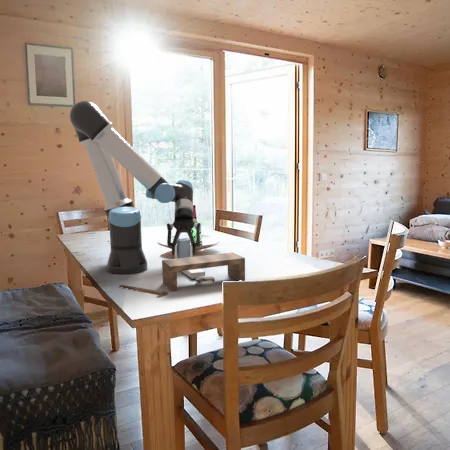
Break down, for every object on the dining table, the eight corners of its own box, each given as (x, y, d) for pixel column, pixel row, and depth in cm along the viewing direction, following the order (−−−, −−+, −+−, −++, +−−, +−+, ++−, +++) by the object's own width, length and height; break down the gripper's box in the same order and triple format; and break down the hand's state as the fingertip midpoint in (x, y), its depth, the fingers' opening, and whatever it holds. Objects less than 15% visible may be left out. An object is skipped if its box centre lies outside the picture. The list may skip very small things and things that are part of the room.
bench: (171, 291, 133) (170, 266, 132) (162, 283, 142) (161, 260, 141) (245, 281, 143) (244, 257, 142) (232, 274, 152) (232, 252, 151)
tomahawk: (106, 295, 134) (105, 291, 134) (122, 286, 140) (121, 283, 140) (153, 304, 124) (152, 300, 124) (168, 294, 130) (167, 290, 130)
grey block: (191, 278, 146) (191, 247, 144) (176, 267, 162) (175, 239, 161) (205, 277, 148) (204, 246, 146) (188, 265, 164) (188, 238, 163)
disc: (199, 287, 137) (199, 282, 137) (193, 282, 143) (192, 277, 143) (217, 285, 140) (217, 279, 140) (210, 280, 146) (210, 275, 146)
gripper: (206, 218, 175) (207, 266, 161) (162, 218, 174) (160, 267, 160) (206, 206, 169) (208, 255, 155) (160, 207, 168) (158, 256, 154)
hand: (183, 261), depth 157 cm, fingers closed on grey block, 5 cm apart
